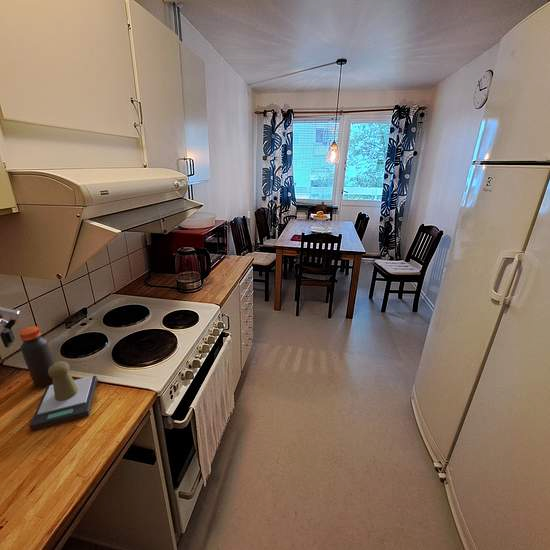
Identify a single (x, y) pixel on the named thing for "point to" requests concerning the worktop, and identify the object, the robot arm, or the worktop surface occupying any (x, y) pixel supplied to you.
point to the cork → (62, 381)
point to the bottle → (36, 356)
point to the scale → (64, 405)
